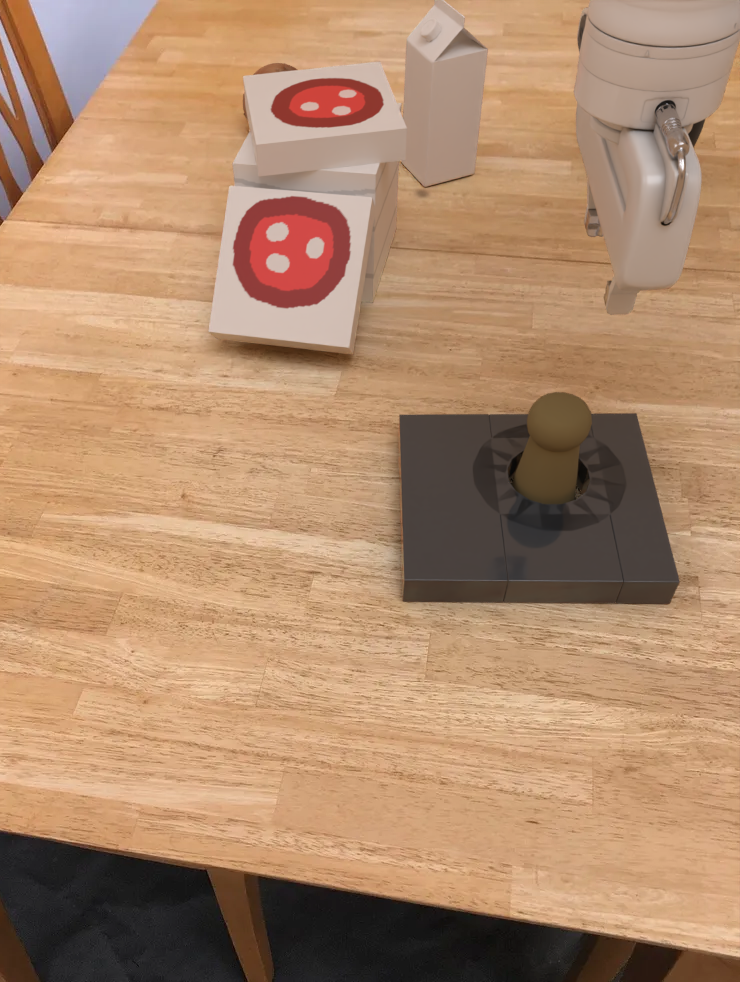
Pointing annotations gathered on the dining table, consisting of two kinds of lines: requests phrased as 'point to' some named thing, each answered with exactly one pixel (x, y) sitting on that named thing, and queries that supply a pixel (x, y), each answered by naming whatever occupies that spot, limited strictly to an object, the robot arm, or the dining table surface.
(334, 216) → the pizza boxes
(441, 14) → the milk carton
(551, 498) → the brown pawn shaped plug
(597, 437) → the drain plate
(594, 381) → the dining table surface
